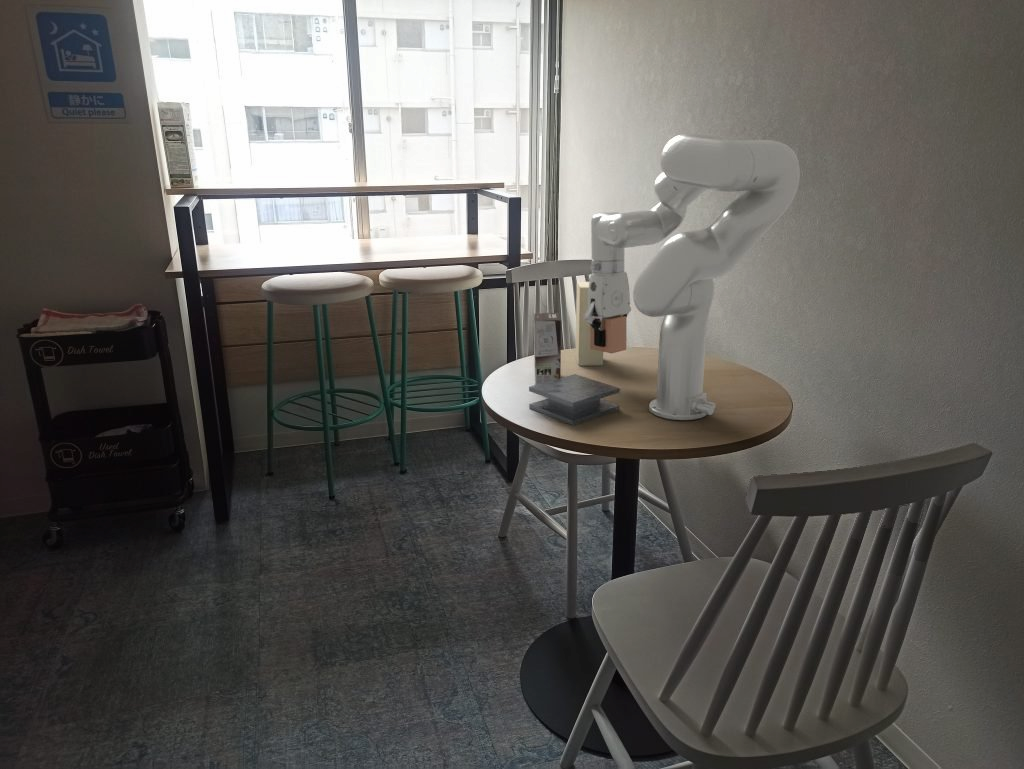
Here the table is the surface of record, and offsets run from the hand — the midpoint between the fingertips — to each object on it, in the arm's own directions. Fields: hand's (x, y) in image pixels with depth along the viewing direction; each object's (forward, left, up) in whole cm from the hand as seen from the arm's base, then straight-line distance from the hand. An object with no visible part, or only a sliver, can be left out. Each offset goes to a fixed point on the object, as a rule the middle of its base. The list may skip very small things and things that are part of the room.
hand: (608, 343), depth 172 cm
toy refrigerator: (+17, -11, -11) cm, 23 cm away
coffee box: (+13, +8, -11) cm, 18 cm away
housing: (0, 0, -2) cm, 2 cm away
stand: (-7, +18, -10) cm, 22 cm away
